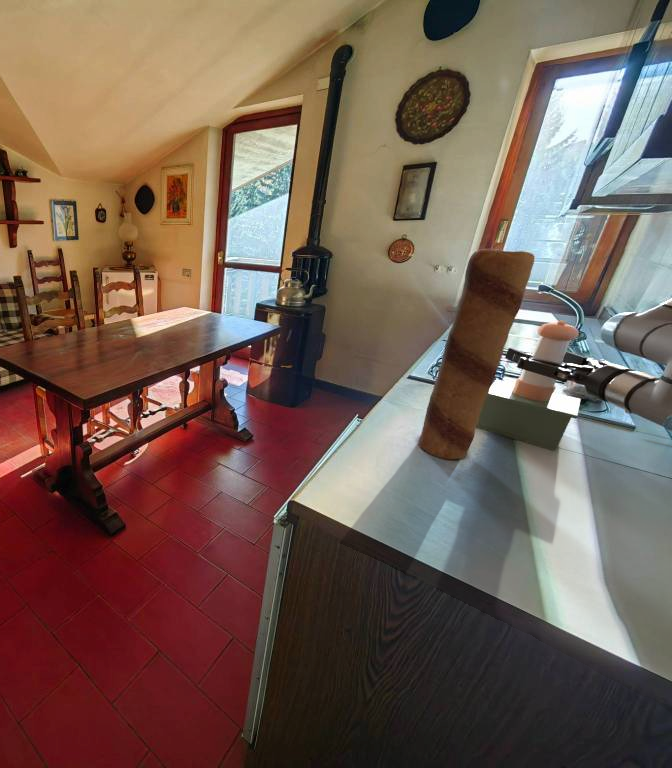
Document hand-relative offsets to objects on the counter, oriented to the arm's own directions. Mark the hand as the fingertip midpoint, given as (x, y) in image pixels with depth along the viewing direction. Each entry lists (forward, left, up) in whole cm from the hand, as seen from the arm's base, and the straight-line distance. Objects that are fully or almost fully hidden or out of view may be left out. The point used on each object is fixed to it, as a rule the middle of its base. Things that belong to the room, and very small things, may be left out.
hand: (533, 353), depth 98 cm
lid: (-3, +3, -11) cm, 11 cm away
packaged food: (-13, -40, -20) cm, 47 cm away
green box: (-3, +3, -20) cm, 20 cm away
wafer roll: (+8, +30, -20) cm, 37 cm away
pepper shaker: (-3, +3, -10) cm, 11 cm away
